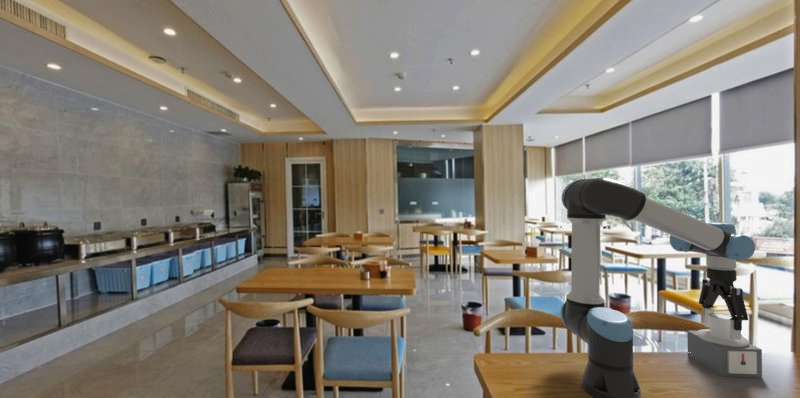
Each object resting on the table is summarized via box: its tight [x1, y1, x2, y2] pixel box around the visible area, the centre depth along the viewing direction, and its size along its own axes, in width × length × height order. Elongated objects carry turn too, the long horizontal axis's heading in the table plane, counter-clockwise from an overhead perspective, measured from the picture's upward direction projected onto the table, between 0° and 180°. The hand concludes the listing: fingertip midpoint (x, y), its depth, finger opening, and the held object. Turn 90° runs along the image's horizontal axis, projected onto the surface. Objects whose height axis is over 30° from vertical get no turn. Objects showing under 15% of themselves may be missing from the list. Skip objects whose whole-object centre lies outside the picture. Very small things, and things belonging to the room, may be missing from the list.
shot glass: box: [708, 312, 732, 340], centre depth 119 cm, size 7×7×7 cm
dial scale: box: [686, 328, 763, 379], centre depth 118 cm, size 13×16×10 cm
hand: (721, 332), depth 119 cm, fingers open, 10 cm apart
